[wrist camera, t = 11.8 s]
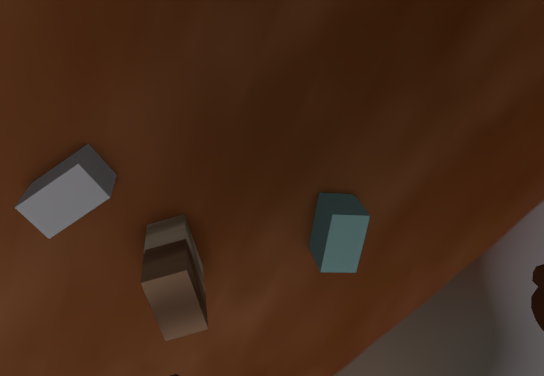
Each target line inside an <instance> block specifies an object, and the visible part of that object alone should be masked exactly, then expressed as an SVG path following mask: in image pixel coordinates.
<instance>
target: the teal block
mask: <svg viewBox="0 0 544 376" xmlns="http://www.w3.org/2000/svg"><path fill="white" fill-rule="evenodd" d="M369 219H370V215H369V214H368V212H367V211H366V210H365V208H364V207H363V206H362V205H361V203H360V202H359V201H358V199H357V198H356V197H355V195H354V194H339V193H319V196H318V201H317V206H316V211H315V216H314V221H313V226H312V232H311V237H310V242H309V249H310V251H311V253H312V255H313V257H314V259H315V262H316V264H317V266H318V268H319V270H320V272H352V273H356V271H357V267H358V263H359V259H360V255H361V251H362V247H363V243H364V239H365V235H366V231H367V227H368V223H369Z"/></svg>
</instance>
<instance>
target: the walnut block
mask: <svg viewBox="0 0 544 376" xmlns="http://www.w3.org/2000/svg"><path fill="white" fill-rule="evenodd" d="M141 285H142V287H143V289H144V292H145V294H146V297H147V299H148V301H149V304H150V306H151V308H152V311H153V313H154V315H155V318H156V320H157V322H158V325H159V327H160V329H161V332H162V334H163V336H164V339H165V341H169V340H172V339H175V338H179V337H182V336H186V335H189V334H193V333H196V332H200V331H203V330H207V329H208V320H207V307H206V295H205V291H204V288H203V286H202V283H201V280H200V277H199V274H198V271H197V269H196V266H195V263H194V260H193V257H192V254H191V251H190V249H189V246H188V243H187V240H186V239H183V240H180V241H176V242H172V243H169V244H165V245H162V246H158V247H154V248H151V249H147V250H145V252H144V260H143V268H142V277H141Z"/></svg>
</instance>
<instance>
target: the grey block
mask: <svg viewBox="0 0 544 376" xmlns="http://www.w3.org/2000/svg"><path fill="white" fill-rule="evenodd" d="M116 176H117V175H116V173H115V172H114V171H113V170H112V169H111V168H110V167H109V166H108V165H107V164H106V162H105V161H104V160H103V159H102V158H101V157H100V156H99V155H98V154H97V153H96V152H95V150H94V149H93V148H92V147H91V146H90V145H89V144H87V145H86V146H84V147H83V148H81V149H80V150H78V151H77V152H76V153H74V154H73V155H71V156H70V157H68V158H67V159H66V160H64V161H63V162H61V163H60V164H58V165H57V166H55V167H54V168H53V169H51V170H50V171H48V172H47V173H45V174H44V175H42V176H41V177H40V178H38V179H37V180H35V181H34V182H32V183H31V184H30V186H29V187H28V189H27V190H26V192H25V193H24V195H23V196H22V198H21V199H20V201H19V202H18V204H17V205H16V207H15V208H16V209H17V210H18V211H19V212H20V213H21V214H22V215H23V216H24V217H26V218H27V219H28V220H29V221H30V222H31V223H32V224H33V225H34V226H35V227H36V228H38V229H39V230H40V231H41V232H42V233H43V234H44V235H45V236H46V237H47V238H48V239H50V238H51V237H53V236H54V235H56V234H57V233H59V232H60V231H62V230H63V229H65V228H66V227H68V226H69V225H71V224H72V223H73V222H75V221H76V220H78V219H79V218H81V217H82V216H84V215H85V214H87V213H88V212H90V211H91V210H93V209H94V208H96V207H97V206H99V205H100V204H102V203H103V202H104V201H106V200H107V199H109V198H110V197H111V193H112V190H113V186H114V183H115V180H116Z"/></svg>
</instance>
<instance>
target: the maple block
mask: <svg viewBox="0 0 544 376" xmlns="http://www.w3.org/2000/svg"><path fill="white" fill-rule="evenodd" d="M183 239H186V240H187V243H188V246H189V249H190V251H191V254H192V257H193V260H194V263H195V266H196V269H197V271H198V274H199V277H200V280H201V283H202V286H203V288H204V291H205V287H204V275H203V265H202V262H201V259H200V256H199V254H198V251H197V248H196V245H195V242H194V240H193V237H192V234H191V231H190V228H189V226H188V223H187V220H186V217H185V214H183V215H179V216H176V217H172V218H169V219H165V220H162V221H158V222H155V223H151V224H147V229H146V237H145V245H144V252H145V250H147V249H151V248H154V247H158V246H162V245H165V244H169V243H172V242H176V241H180V240H183Z"/></svg>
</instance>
